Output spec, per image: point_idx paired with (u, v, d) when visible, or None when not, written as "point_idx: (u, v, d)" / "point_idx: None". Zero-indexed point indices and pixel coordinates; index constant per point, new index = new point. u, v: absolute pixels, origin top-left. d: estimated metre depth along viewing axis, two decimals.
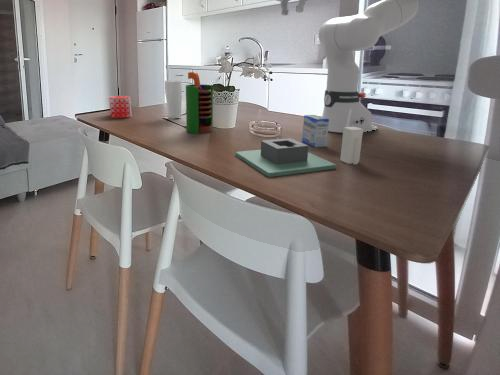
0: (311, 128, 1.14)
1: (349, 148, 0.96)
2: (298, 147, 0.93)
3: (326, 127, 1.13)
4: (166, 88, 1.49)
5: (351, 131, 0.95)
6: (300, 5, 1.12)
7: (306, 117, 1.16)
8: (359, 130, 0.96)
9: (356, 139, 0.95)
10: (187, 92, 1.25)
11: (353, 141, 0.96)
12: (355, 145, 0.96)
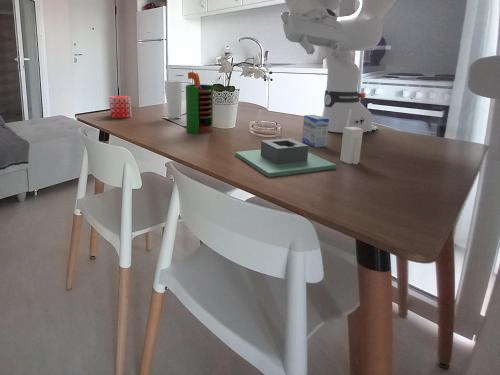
0: (311, 128, 1.14)
1: (349, 148, 0.96)
2: (298, 147, 0.93)
3: (326, 127, 1.13)
4: (166, 88, 1.49)
5: (351, 131, 0.95)
6: (306, 48, 1.01)
7: (306, 117, 1.16)
8: (359, 130, 0.96)
9: (356, 139, 0.95)
10: (187, 92, 1.25)
11: (353, 141, 0.96)
12: (355, 145, 0.96)
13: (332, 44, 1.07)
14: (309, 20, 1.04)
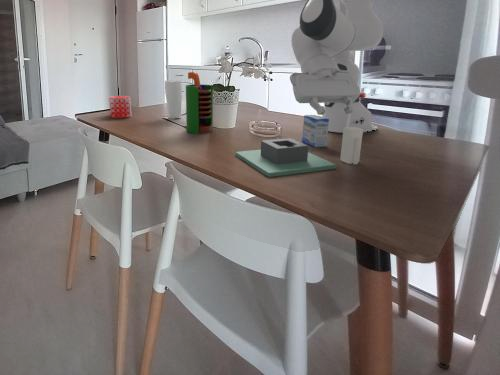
0: (311, 128, 1.14)
1: (349, 148, 0.96)
2: (298, 147, 0.93)
3: (326, 127, 1.13)
4: (166, 88, 1.49)
5: (351, 131, 0.95)
6: (316, 109, 1.00)
7: (306, 117, 1.16)
8: (359, 130, 0.96)
9: (356, 139, 0.95)
10: (187, 92, 1.25)
11: (353, 141, 0.96)
12: (355, 145, 0.96)
13: (345, 99, 1.05)
14: (319, 79, 1.03)
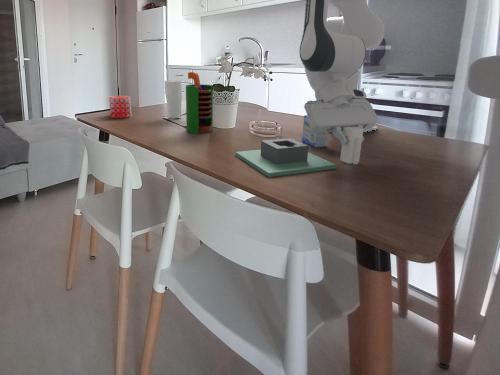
0: None
1: (349, 148, 0.96)
2: (298, 147, 0.93)
3: None
4: (166, 88, 1.49)
5: (351, 131, 0.95)
6: (340, 138, 0.97)
7: (306, 117, 1.16)
8: (359, 130, 0.96)
9: (356, 139, 0.95)
10: (187, 92, 1.25)
11: (353, 141, 0.96)
12: (355, 145, 0.96)
13: None
14: (335, 107, 0.99)
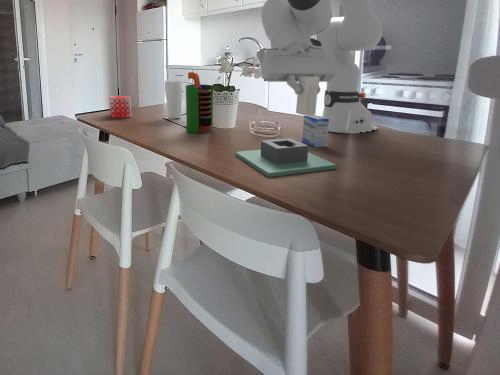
0: (311, 128, 1.14)
1: (304, 98, 0.90)
2: (298, 147, 0.93)
3: (326, 127, 1.13)
4: (166, 88, 1.49)
5: (305, 79, 0.89)
6: (294, 87, 0.91)
7: (306, 117, 1.16)
8: (314, 78, 0.89)
9: (311, 87, 0.89)
10: (187, 92, 1.25)
11: (308, 90, 0.90)
12: (310, 94, 0.90)
13: None
14: (289, 55, 0.93)
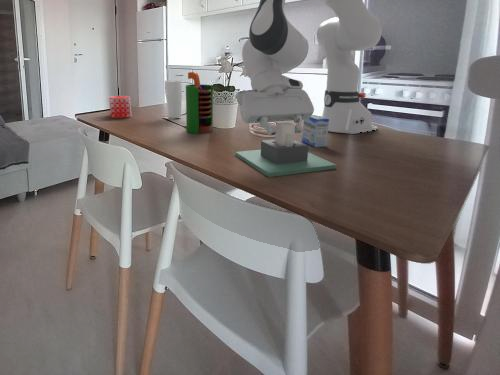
0: (311, 129, 1.14)
1: (281, 144, 0.94)
2: (298, 147, 0.93)
3: (326, 127, 1.13)
4: (166, 88, 1.49)
5: (282, 127, 0.93)
6: (267, 129, 0.94)
7: None
8: (290, 126, 0.93)
9: (287, 135, 0.93)
10: (187, 92, 1.25)
11: (284, 137, 0.94)
12: (287, 141, 0.94)
13: (294, 117, 0.98)
14: (268, 96, 0.96)
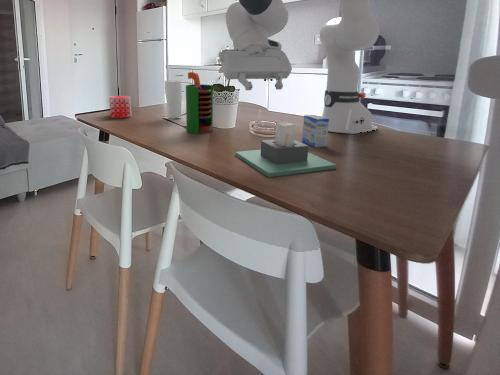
0: (311, 128, 1.14)
1: (281, 144, 0.94)
2: (298, 147, 0.93)
3: (326, 127, 1.13)
4: (166, 88, 1.49)
5: (282, 127, 0.93)
6: (244, 84, 1.01)
7: (306, 117, 1.16)
8: (290, 126, 0.93)
9: (287, 135, 0.93)
10: (187, 92, 1.25)
11: (284, 137, 0.94)
12: (287, 141, 0.94)
13: (276, 75, 1.06)
14: (248, 55, 1.04)
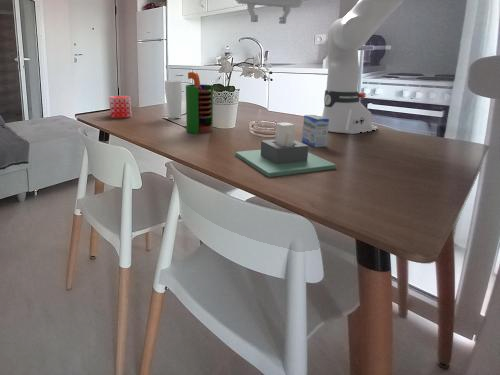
0: (311, 128, 1.14)
1: (281, 144, 0.94)
2: (298, 147, 0.93)
3: (326, 127, 1.13)
4: (166, 88, 1.49)
5: (282, 127, 0.93)
6: (251, 15, 1.07)
7: (306, 117, 1.16)
8: (290, 126, 0.93)
9: (287, 135, 0.93)
10: (187, 92, 1.25)
11: (284, 137, 0.94)
12: (287, 141, 0.94)
13: (284, 7, 1.10)
14: None
